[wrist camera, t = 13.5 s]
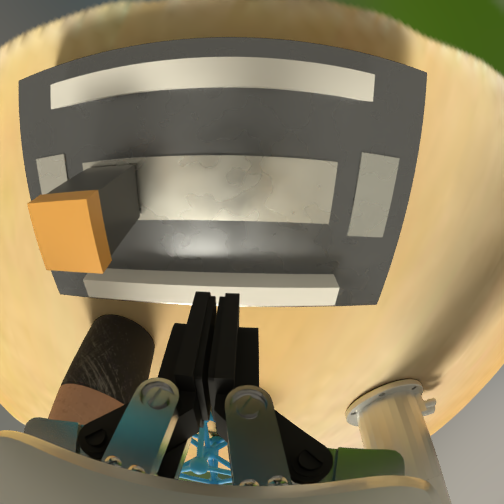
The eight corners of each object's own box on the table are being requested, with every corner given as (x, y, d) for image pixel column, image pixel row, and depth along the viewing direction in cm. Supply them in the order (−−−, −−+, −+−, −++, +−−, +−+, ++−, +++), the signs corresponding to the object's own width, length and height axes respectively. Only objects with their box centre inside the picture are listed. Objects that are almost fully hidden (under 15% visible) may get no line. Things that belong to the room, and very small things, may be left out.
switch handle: (136, 162, 13) (86, 199, 9) (141, 218, 15) (103, 273, 10) (85, 166, 13) (27, 203, 9) (94, 218, 15) (46, 269, 10)
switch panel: (394, 73, 14) (441, 72, 10) (360, 273, 23) (383, 317, 18) (52, 78, 13) (4, 82, 9) (80, 266, 22) (52, 305, 17)
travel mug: (82, 335, 26) (22, 495, 9) (105, 299, 24) (25, 503, 6) (138, 369, 29) (103, 529, 12) (171, 341, 26) (136, 542, 9)
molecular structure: (258, 422, 36) (260, 483, 28) (218, 439, 40) (216, 491, 31) (201, 402, 33) (195, 470, 24) (166, 421, 36) (157, 477, 28)
